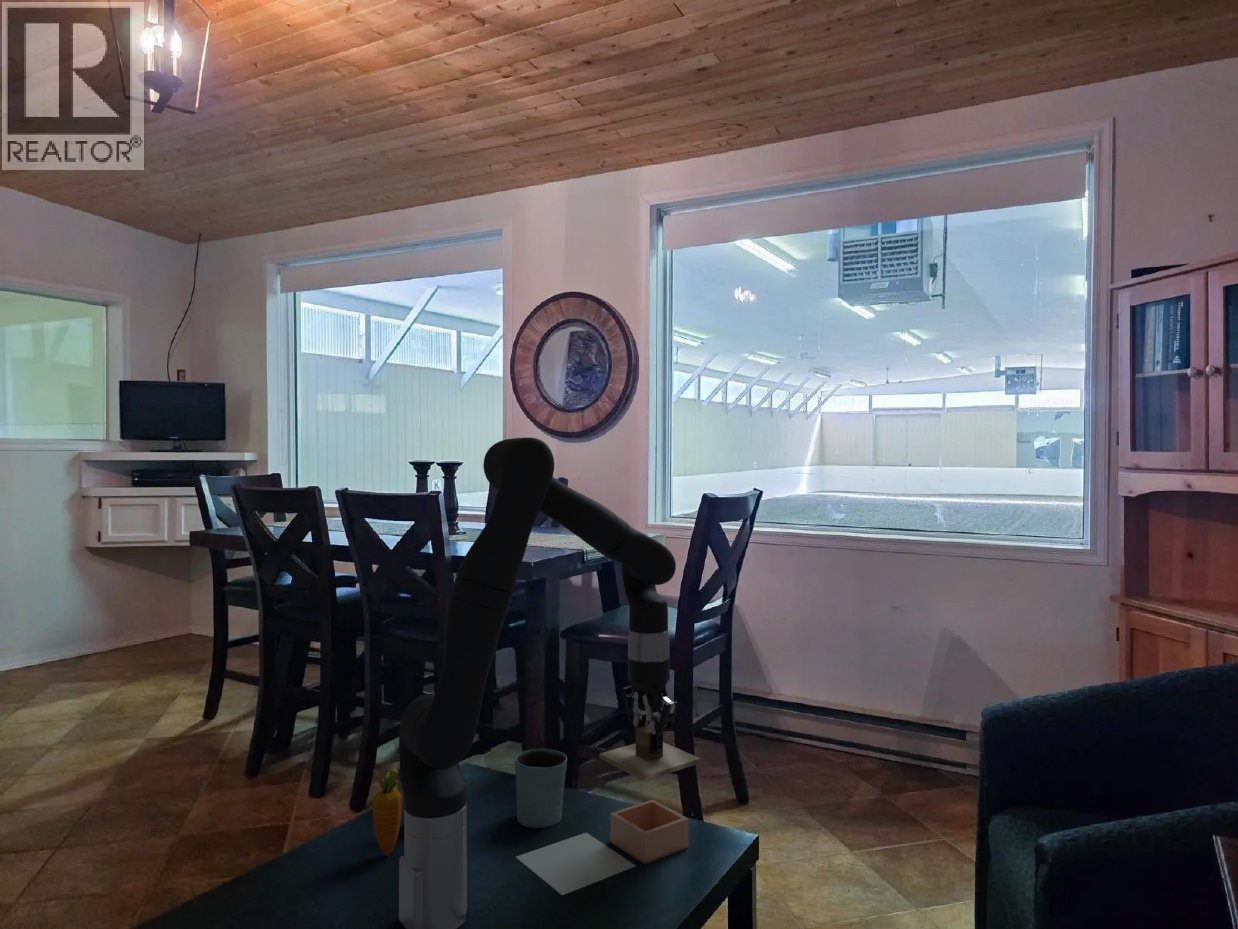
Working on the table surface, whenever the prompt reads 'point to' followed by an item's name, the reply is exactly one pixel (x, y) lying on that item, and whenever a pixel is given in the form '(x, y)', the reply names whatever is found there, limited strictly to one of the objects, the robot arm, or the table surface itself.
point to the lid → (648, 757)
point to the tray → (575, 863)
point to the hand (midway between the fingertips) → (649, 749)
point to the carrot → (387, 812)
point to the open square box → (649, 831)
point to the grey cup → (540, 787)
